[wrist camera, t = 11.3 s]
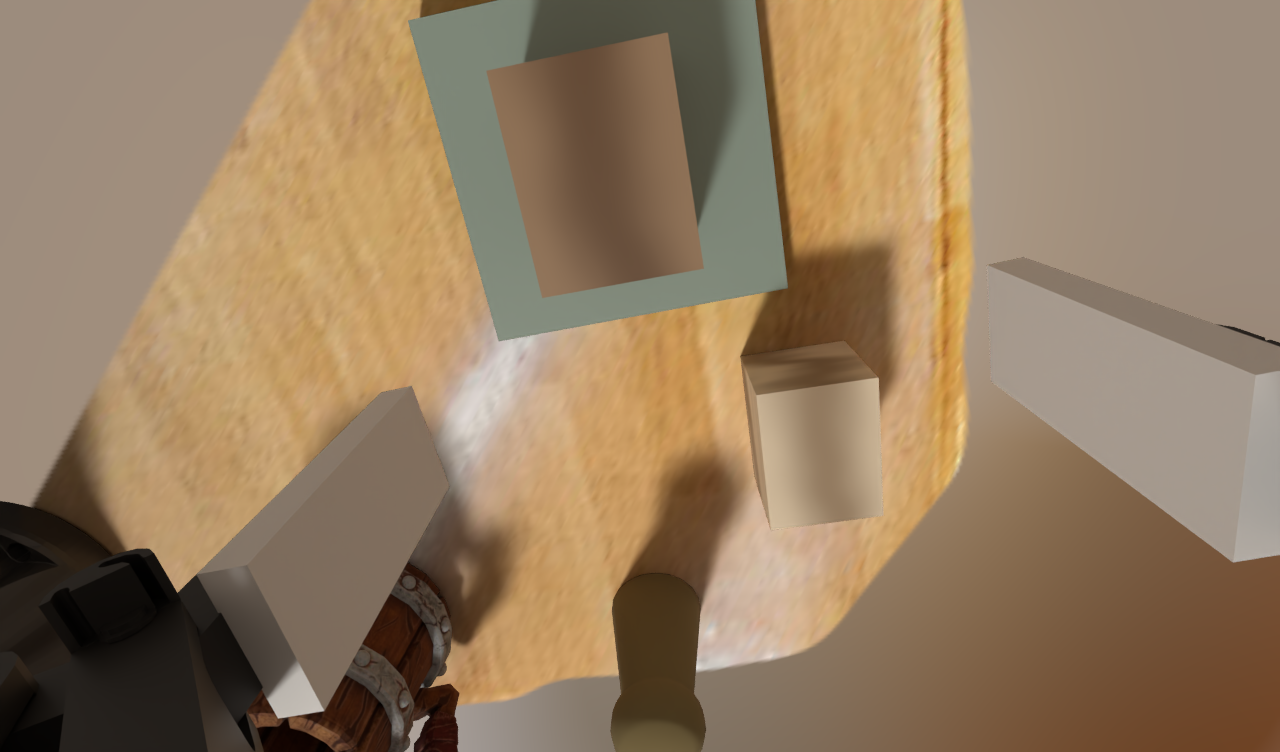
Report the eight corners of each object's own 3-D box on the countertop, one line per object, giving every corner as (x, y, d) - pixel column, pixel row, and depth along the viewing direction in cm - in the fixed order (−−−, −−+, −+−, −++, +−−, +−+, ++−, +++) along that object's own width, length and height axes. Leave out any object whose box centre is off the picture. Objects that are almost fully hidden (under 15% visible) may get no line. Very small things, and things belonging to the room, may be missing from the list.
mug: (329, 503, 41) (225, 722, 28) (516, 593, 47) (503, 811, 33) (244, 615, 45) (115, 858, 31) (428, 687, 50) (384, 920, 37)
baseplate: (504, 333, 37) (498, 341, 36) (418, 25, 32) (407, 20, 30) (782, 281, 36) (787, 288, 35) (743, -49, 30) (748, -57, 29)
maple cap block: (753, 474, 41) (770, 530, 35) (740, 355, 38) (756, 395, 32) (850, 461, 40) (883, 515, 35) (843, 339, 37) (878, 377, 32)
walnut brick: (562, 265, 34) (542, 298, 28) (520, 82, 31) (486, 70, 25) (693, 241, 34) (704, 268, 27) (663, 52, 31) (667, 32, 24)
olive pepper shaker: (684, 562, 43) (695, 699, 33) (711, 631, 45) (730, 780, 35) (598, 587, 44) (583, 728, 33) (630, 653, 46) (624, 806, 35)
